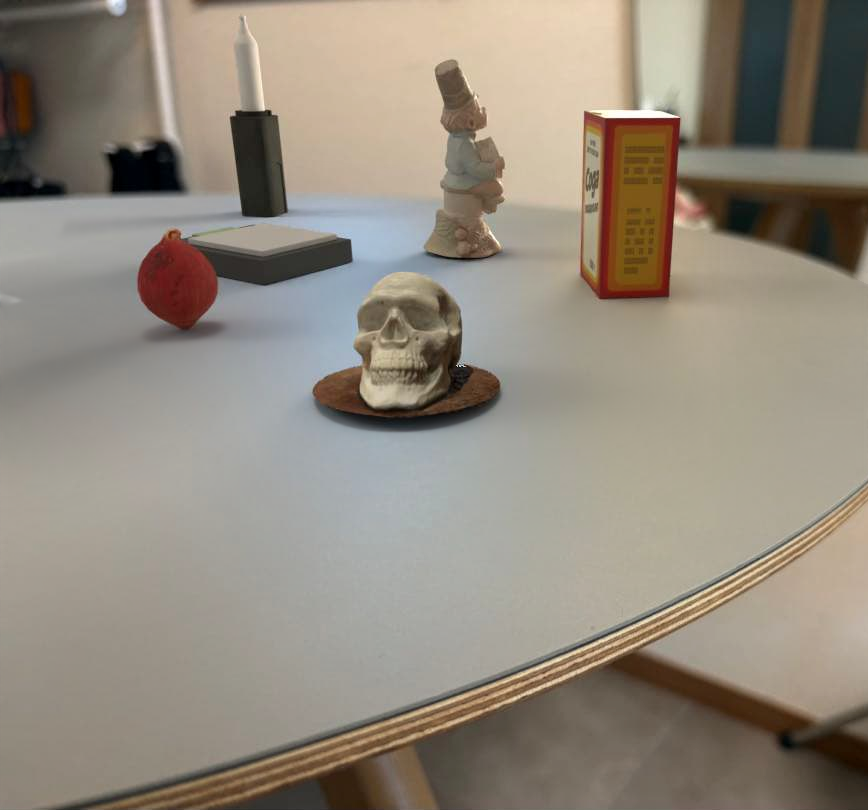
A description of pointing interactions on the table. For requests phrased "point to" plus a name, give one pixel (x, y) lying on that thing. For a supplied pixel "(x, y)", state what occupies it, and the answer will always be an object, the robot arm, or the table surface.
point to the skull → (407, 355)
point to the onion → (177, 281)
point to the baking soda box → (628, 202)
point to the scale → (270, 252)
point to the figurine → (465, 172)
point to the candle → (256, 136)
